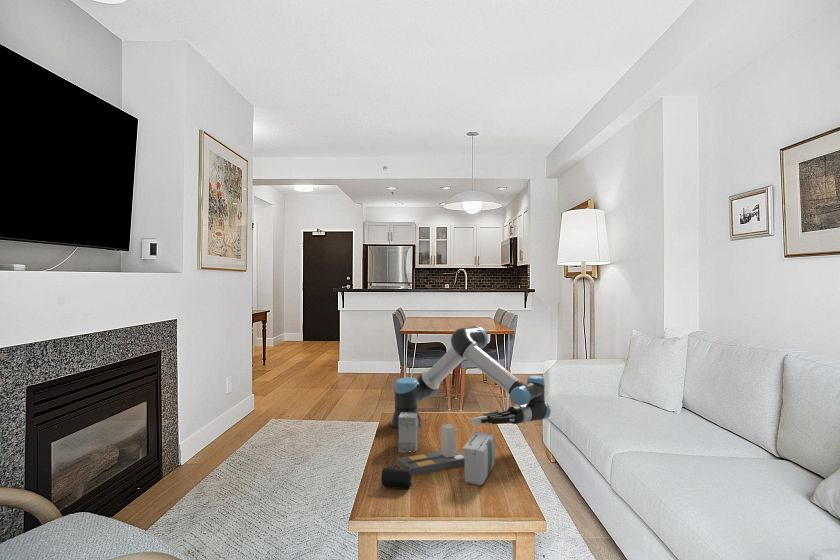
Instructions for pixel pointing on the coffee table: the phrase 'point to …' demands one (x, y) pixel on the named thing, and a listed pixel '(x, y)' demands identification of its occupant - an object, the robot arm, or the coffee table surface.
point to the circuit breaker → (408, 431)
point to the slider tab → (448, 440)
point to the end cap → (396, 477)
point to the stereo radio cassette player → (479, 457)
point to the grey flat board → (431, 462)
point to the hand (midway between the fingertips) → (473, 421)
